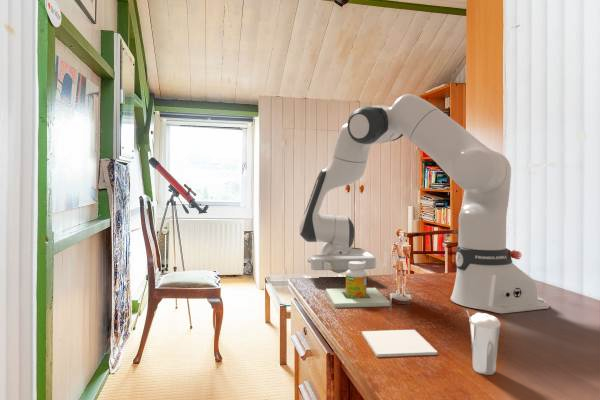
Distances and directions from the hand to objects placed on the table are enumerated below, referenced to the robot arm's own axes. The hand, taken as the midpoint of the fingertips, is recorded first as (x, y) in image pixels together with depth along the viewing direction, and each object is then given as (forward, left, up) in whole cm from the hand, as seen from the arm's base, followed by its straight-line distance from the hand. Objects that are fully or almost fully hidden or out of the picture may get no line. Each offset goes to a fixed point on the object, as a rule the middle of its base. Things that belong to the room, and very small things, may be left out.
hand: (347, 267), depth 117 cm
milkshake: (-11, +54, -6) cm, 55 cm away
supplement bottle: (0, +12, -6) cm, 13 cm away
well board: (0, +12, -6) cm, 13 cm away
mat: (-1, +42, -6) cm, 42 cm away
